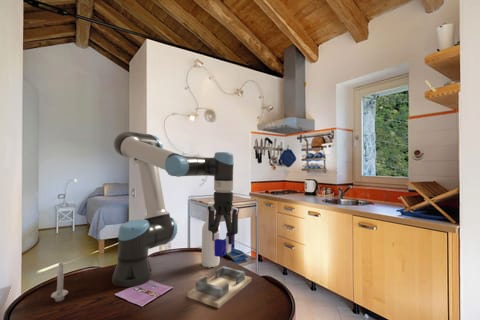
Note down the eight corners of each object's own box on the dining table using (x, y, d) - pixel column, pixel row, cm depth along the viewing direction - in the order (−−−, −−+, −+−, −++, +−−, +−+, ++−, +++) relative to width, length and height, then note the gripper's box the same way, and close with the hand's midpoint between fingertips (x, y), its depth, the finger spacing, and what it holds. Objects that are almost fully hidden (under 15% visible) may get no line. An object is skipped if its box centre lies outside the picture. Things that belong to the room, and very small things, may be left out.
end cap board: (186, 296, 91) (187, 284, 91) (223, 273, 112) (223, 263, 112) (218, 308, 84) (218, 294, 84) (251, 281, 105) (251, 270, 105)
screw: (47, 302, 85) (59, 295, 90) (59, 304, 85) (71, 296, 89) (48, 264, 86) (61, 258, 91) (60, 265, 85) (72, 260, 90)
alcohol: (214, 259, 128) (215, 200, 129) (222, 265, 121) (224, 203, 121) (198, 263, 123) (199, 201, 124) (206, 269, 116) (207, 204, 116)
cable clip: (224, 246, 105) (224, 231, 106) (234, 247, 104) (234, 232, 104) (210, 255, 94) (211, 239, 94) (221, 257, 93) (221, 240, 93)
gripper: (199, 190, 100) (198, 249, 100) (238, 193, 91) (237, 258, 90) (210, 189, 107) (209, 244, 106) (248, 192, 98) (247, 252, 97)
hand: (222, 250), depth 98 cm, fingers closed on cable clip, 5 cm apart
